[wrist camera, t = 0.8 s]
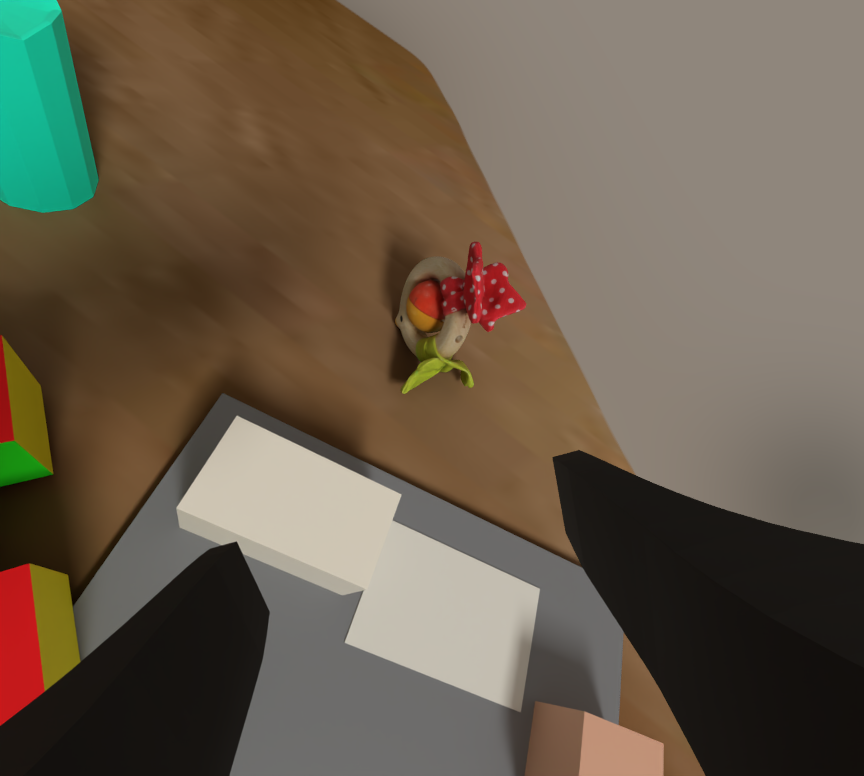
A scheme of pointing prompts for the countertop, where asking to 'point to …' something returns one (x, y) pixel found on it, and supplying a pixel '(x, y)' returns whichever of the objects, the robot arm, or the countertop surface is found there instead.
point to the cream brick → (290, 508)
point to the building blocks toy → (29, 584)
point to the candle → (41, 112)
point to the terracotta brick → (587, 746)
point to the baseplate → (386, 634)
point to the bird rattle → (451, 310)
